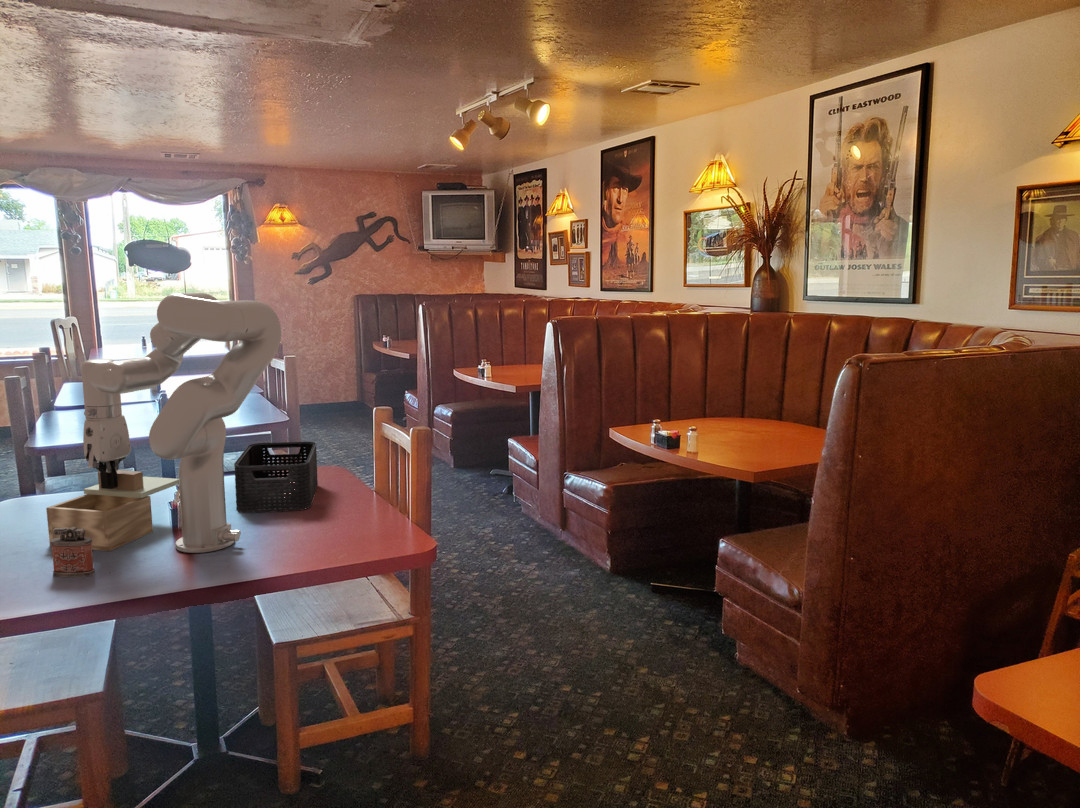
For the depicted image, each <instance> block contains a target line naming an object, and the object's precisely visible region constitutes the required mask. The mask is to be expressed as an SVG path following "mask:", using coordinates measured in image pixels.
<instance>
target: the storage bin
mask: <svg viewBox="0 0 1080 808" xmlns="http://www.w3.org/2000/svg"><path fill="white" fill-rule="evenodd" d="M285 448H290V449H291V448H299V451H298V452H297V453H284V454H283V453H281V454H276V453H275V454H271V453H270V451H269V449H285ZM317 459H318V457H317V442H315V441H286V442H285V441H281V442H280V441H279V442H277V441H276V442H255V443H251V444H249V445H247V447H246V448H245V449H244V450H243V452H242V453H241V454H240V456H239V457H237V459H236V460H235V462H234V464H233V466H234V484H235V486H234V489H235V504H236V507H235V509H236V511H237V512H239V513H244V514H245V513H247V514H248V513H249V514H253V513H254V512H256V513H271V512H270V511H278V512H286V511H285V510H298V511H302V510H301V509H305V508H308V507H310V506H311V507H312V505H313V502H312V501H314V499H315V496H314V495H316V493H315V491H316V492H317V489H318V486H319V485H318V483H319V481H318V479H319V478H318V460H317ZM290 482H291V483H290ZM293 482H295V483H293ZM317 485H318V486H317ZM316 488H317V489H316ZM294 489H295V490H294ZM284 493H286V494H284ZM289 493H291V494H289ZM284 497H285V498H284ZM313 498H314V499H313ZM311 504H312V505H311ZM311 507H310V508H311ZM308 509H309V508H308ZM305 510H306V509H305Z"/></svg>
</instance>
